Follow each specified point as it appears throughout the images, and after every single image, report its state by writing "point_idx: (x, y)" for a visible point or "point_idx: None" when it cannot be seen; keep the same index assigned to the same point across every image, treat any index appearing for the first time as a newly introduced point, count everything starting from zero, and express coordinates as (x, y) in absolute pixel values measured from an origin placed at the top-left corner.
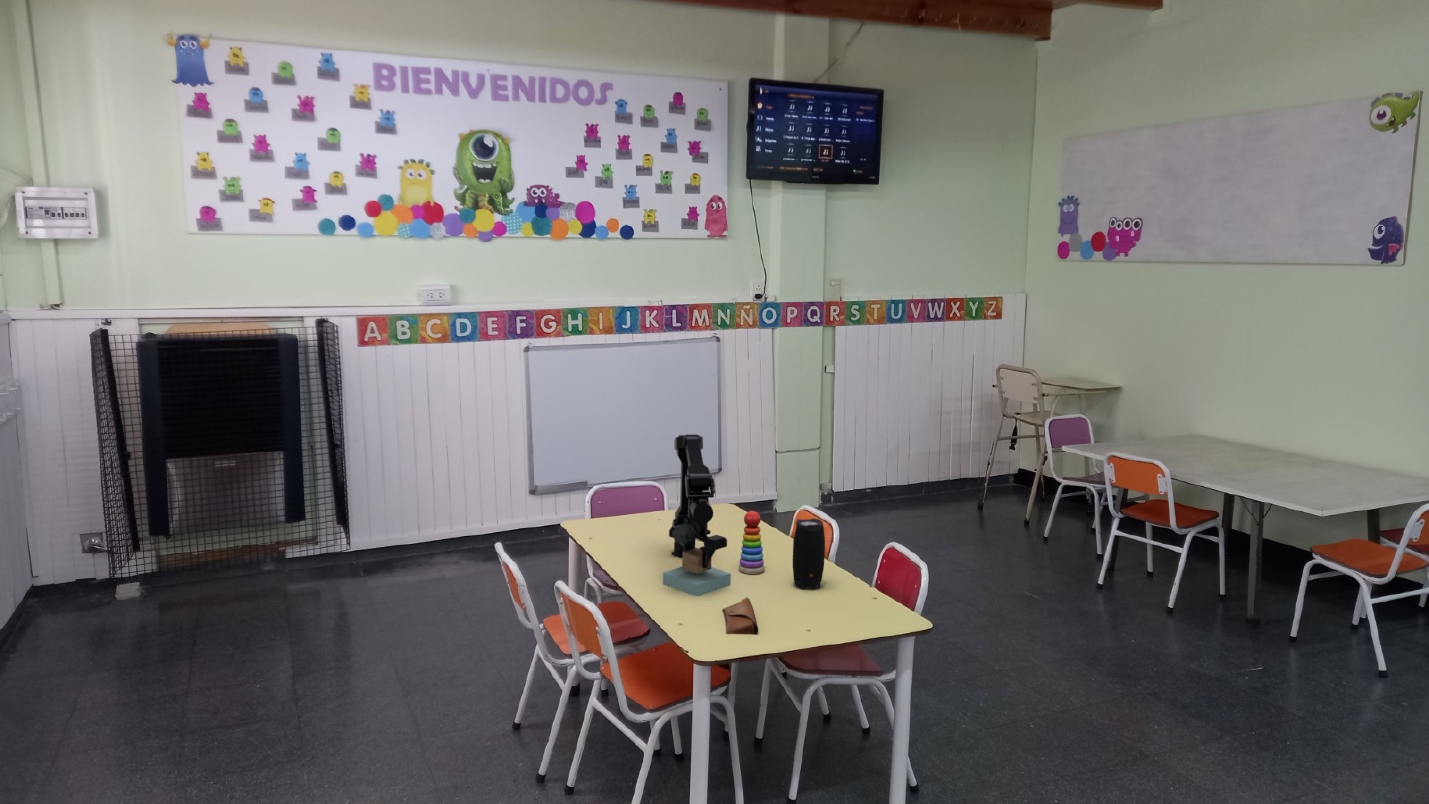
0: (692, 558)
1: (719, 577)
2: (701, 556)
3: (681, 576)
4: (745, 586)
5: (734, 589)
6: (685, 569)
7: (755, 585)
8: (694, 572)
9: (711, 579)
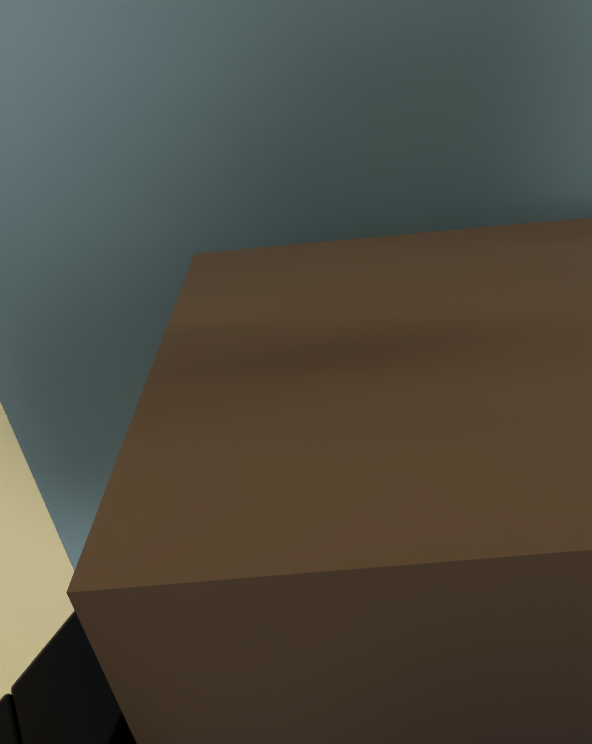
0: (413, 446)
1: (46, 503)
2: (156, 727)
3: (491, 11)
4: (39, 596)
5: (10, 499)
6: (566, 221)
7: (23, 650)
8: (270, 249)
9: (10, 374)
